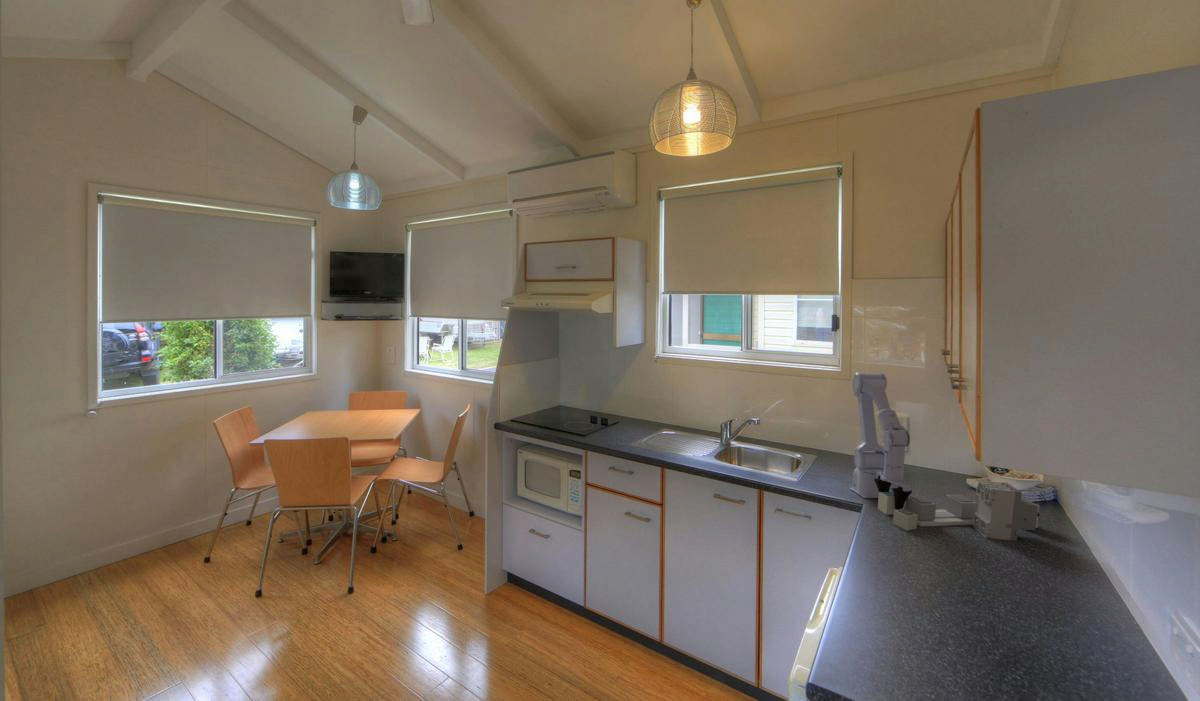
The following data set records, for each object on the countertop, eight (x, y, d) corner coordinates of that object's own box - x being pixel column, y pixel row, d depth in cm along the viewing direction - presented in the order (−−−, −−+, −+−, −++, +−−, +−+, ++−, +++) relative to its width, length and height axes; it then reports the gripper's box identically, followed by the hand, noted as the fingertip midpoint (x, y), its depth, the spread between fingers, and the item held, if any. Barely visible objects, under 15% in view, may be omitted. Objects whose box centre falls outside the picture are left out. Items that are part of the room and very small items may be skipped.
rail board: (901, 514, 172) (902, 494, 171) (957, 512, 174) (958, 492, 174) (920, 526, 163) (922, 505, 163) (979, 524, 165) (981, 503, 165)
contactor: (892, 524, 165) (893, 509, 164) (901, 522, 166) (903, 507, 166) (907, 530, 160) (908, 515, 160) (916, 529, 162) (917, 513, 161)
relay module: (877, 509, 176) (879, 491, 176) (894, 508, 177) (895, 490, 176) (886, 514, 172) (887, 496, 171) (903, 514, 173) (904, 495, 172)
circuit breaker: (1040, 543, 153) (1045, 493, 152) (985, 537, 156) (990, 489, 154) (1025, 531, 160) (1030, 484, 159) (973, 527, 163) (977, 480, 162)
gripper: (869, 458, 179) (866, 496, 181) (897, 472, 165) (894, 513, 166) (888, 458, 180) (885, 496, 182) (918, 471, 166) (914, 513, 167)
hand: (891, 504), depth 174 cm, fingers open, 7 cm apart
